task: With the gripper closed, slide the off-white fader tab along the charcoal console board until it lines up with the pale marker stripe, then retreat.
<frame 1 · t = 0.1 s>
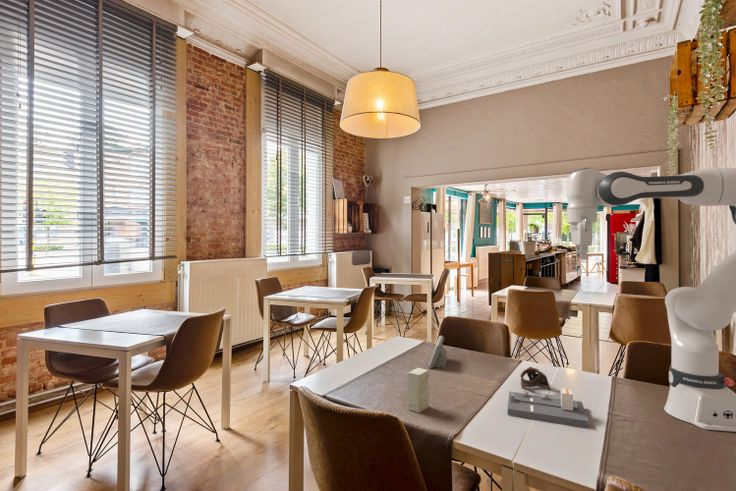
hand: (581, 258, 128), 48 cm above the table, fingers open, 8 cm apart
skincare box: (418, 408, 124), on the table
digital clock: (436, 363, 167), on the table
console: (545, 411, 121), on the table
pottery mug: (534, 388, 140), on the table
fader tab: (566, 398, 119), point 5 cm above the table, slide at 0.0 cm
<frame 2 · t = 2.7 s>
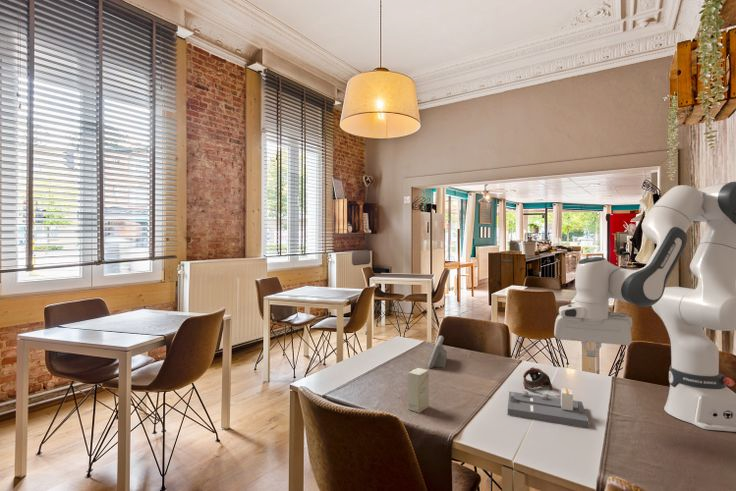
hand: (591, 356, 116), 19 cm above the table, fingers closed
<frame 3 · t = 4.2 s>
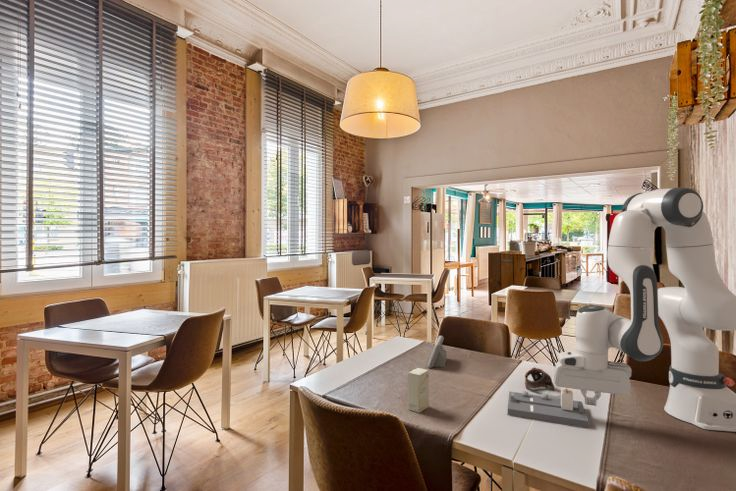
hand: (590, 404, 116), 4 cm above the table, fingers closed
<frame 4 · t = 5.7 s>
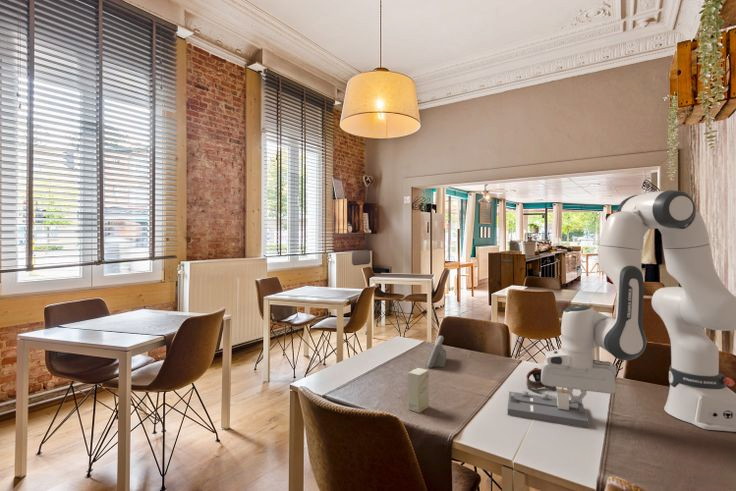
hand: (576, 402, 118), 4 cm above the table, fingers closed
fader tab: (562, 398, 119), point 5 cm above the table, slide at 1.1 cm, touching gripper
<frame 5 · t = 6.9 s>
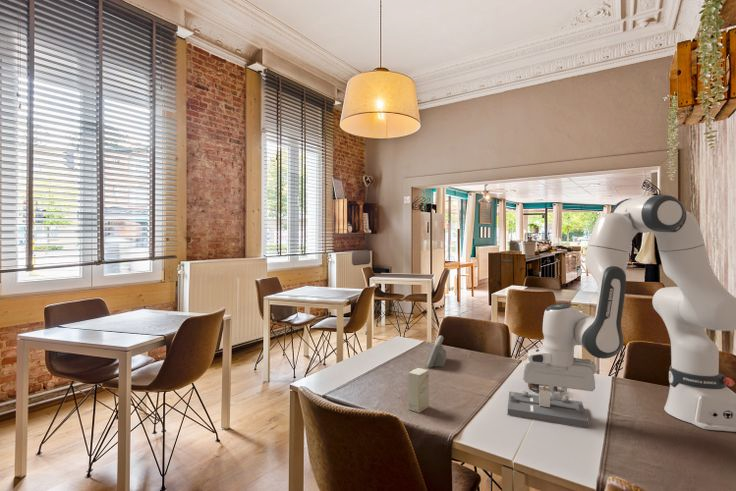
hand: (557, 399, 120), 4 cm above the table, fingers closed
fader tab: (544, 395, 121), point 5 cm above the table, slide at 6.3 cm, touching gripper
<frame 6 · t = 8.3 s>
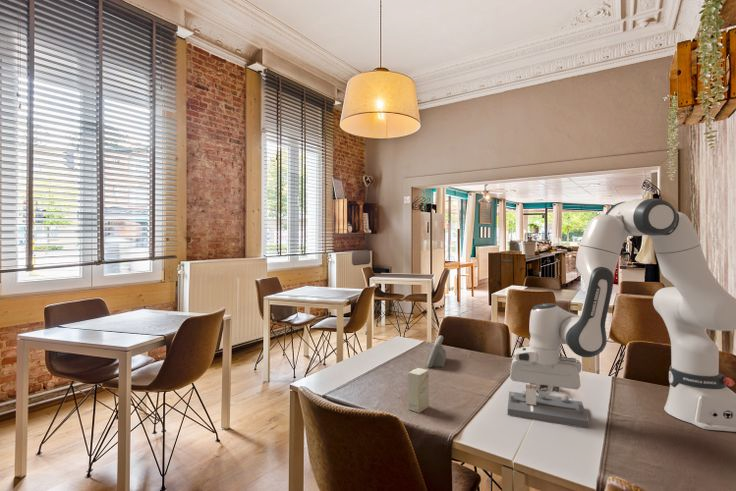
hand: (543, 398, 121), 4 cm above the table, fingers closed
fader tab: (530, 393, 123), point 5 cm above the table, slide at 10.2 cm, touching gripper
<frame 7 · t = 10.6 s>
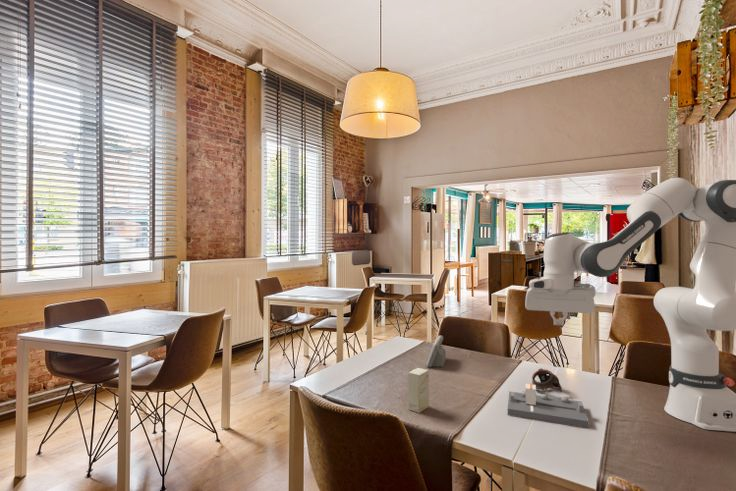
hand: (558, 325, 124), 27 cm above the table, fingers closed
fader tab: (530, 393, 123), point 5 cm above the table, slide at 10.3 cm
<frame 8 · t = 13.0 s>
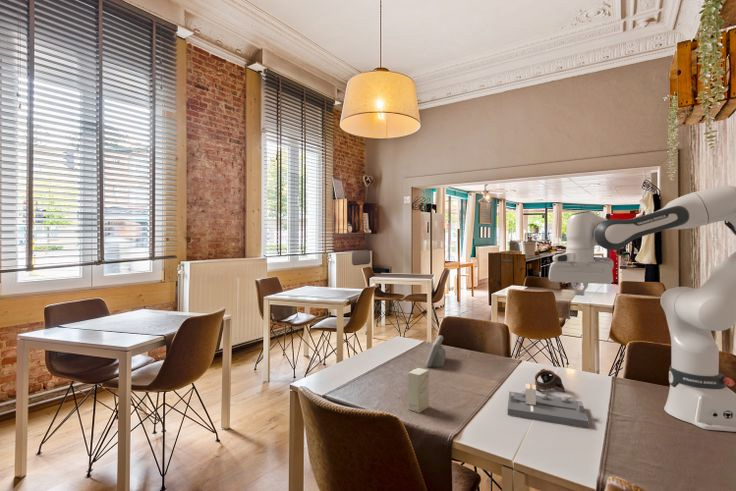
hand: (579, 295, 137), 34 cm above the table, fingers closed
at the end: fader tab slide at 10.3 cm; fader tab touching nothing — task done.
